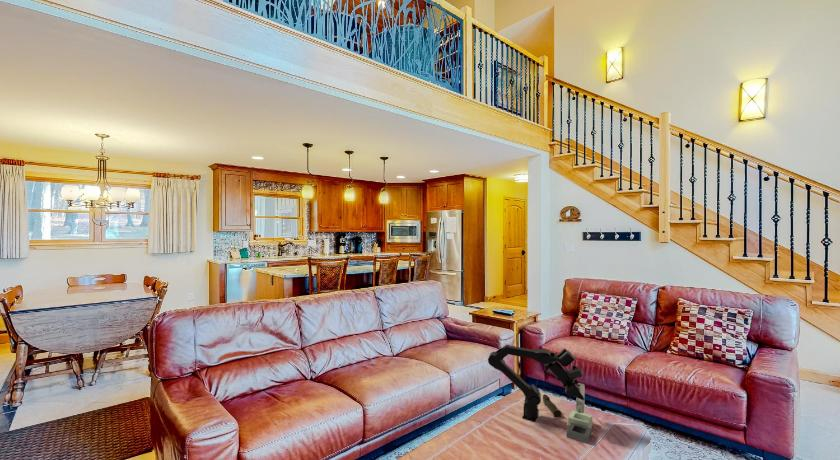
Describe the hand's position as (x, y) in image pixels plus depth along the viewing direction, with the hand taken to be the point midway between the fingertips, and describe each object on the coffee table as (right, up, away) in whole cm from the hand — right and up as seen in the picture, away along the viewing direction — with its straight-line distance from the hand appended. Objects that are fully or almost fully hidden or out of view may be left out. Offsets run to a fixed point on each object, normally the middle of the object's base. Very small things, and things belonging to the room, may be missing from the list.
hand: (583, 397), depth 185 cm
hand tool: (-11, -14, +17) cm, 24 cm away
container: (-1, -13, +1) cm, 13 cm away
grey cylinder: (-1, -7, +1) cm, 7 cm away
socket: (-6, -13, -9) cm, 17 cm away
